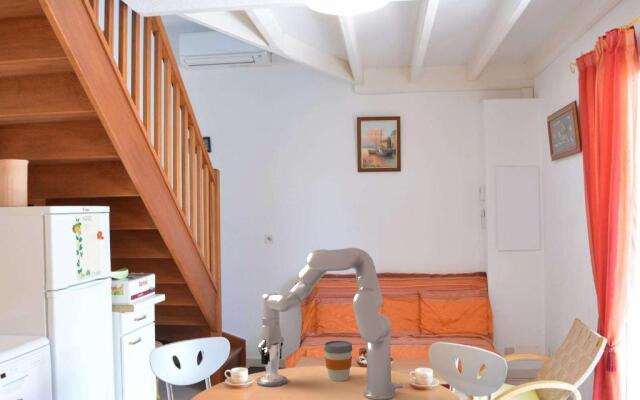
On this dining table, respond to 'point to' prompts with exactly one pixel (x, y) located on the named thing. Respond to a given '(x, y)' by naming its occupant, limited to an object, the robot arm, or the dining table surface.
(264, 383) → the coaster plate
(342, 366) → the reusable coffee cup
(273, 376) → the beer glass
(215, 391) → the dining table surface
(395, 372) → the dining table surface
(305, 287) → the robot arm
